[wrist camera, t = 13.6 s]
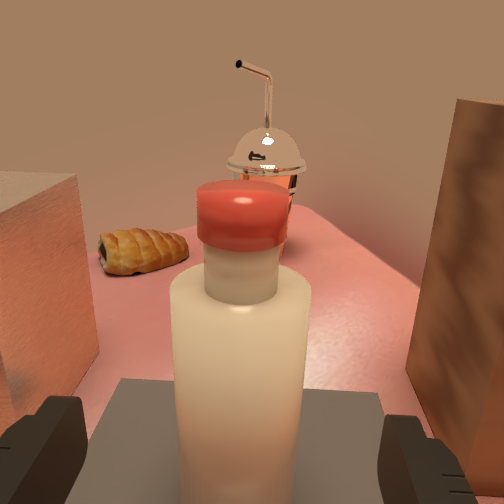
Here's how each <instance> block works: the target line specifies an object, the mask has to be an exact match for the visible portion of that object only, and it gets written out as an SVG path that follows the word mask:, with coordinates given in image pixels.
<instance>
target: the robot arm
mask: <svg viewBox="0 0 504 504" xmlns="http://www.w3.org/2000/svg"><path fill="white" fill-rule="evenodd" d="M87 448H88V439H87V432H86V426H85V419H84V413H83V406H82V401H81V399H80V398H79V397H74V396H55V395H50V396H48V397H47V398H46V399H45V400H44V402H43V403H42V405H41V406H40V407H39V409H38V410H37V412H36V413H35V414H34V415H24V416H23V417H22V418H20V419H19V420H18V421H17V422H15V423H14V424H13V425H11V426H10V427H9V428H7V429H6V430H5V432H4V433H3V434H2V436H1V437H0V504H64V503H65V501H66V499H67V497H68V495H69V493H70V491H71V489H72V487H73V485H74V483H75V481H76V479H77V477H78V475H79V473H80V471H81V469H82V467H83V465H84V462H85V459H86V455H87ZM377 474H378V482H379V487H380V491H381V495H382V499H383V503H384V504H478V502H477V500H476V497H475V496H473V491H472V489H471V487H470V485H469V483H468V480H467V479H465V474H464V472H463V470H462V468H461V466H460V463H459V461H458V459H457V457H456V456H455V454H454V453H453V452H452V451H451V450H450V449H449V448H448V447H447V446H446V445H445V444H444V443H443V442H442V441H441V440H440V439H432V438H427V437H426V435H425V432H424V430H423V427H422V425H421V423H420V420H419V419H418V417H417V416H407V415H389V414H387V415H386V416H385V419H384V424H383V430H382V436H381V441H380V447H379V453H378V459H377Z"/></svg>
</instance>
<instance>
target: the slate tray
mask: <svg viewBox="0 0 504 504" xmlns="http://www.w3.org/2000/svg"><path fill="white" fill-rule="evenodd" d="M384 419H385V416H384V413H383V410H382V406H381V403H380V400H379V397H378V393H371V392H353V391H336V390H318V389H303V393H302V404H301V415H300V425H299V436H298V447H297V458H296V469H295V479H294V490H293V501H292V504H384V503H383V499H382V495H381V491H380V487H379V482H378V474H377V459H378V453H379V447H380V441H381V436H382V430H383V424H384ZM64 504H180V488H179V468H178V448H177V428H176V408H175V388H174V381H161V380H143V379H126V378H121V380H120V381H119V383H118V385H117V387H116V389H115V391H114V393H113V395H112V397H111V399H110V401H109V403H108V405H107V407H106V409H105V411H104V413H103V415H102V417H101V419H100V421H99V422H98V424H97V426H96V428H95V430H94V432H93V434H92V436H91V438H90V440H89V442H88V448H87V455H86V459H85V462H84V465H83V467H82V469H81V471H80V473H79V475H78V477H77V479H76V481H75V483H74V485H73V487H72V489H71V491H70V493H69V495H68V497H67V499H66V501H65V503H64Z"/></svg>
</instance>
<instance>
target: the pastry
mask: <svg viewBox="0 0 504 504" xmlns="http://www.w3.org/2000/svg"><path fill="white" fill-rule="evenodd" d="M98 253H99V255H100V256H101V260H100V262H101V264H102V265H103V269H104V270H105V271H106V272H108V273H111V274H116V275H119V276H124V275H132V274H133V273H134V272H142V273H146V272H152V271H154V270H156V269H162V268H165V267H169V266H172V265H175V264H177V263H179V262H181V261H182V260H183V259H185V258H187V256H188V254H189V250H188V245H187V243H186V240H185V238H184V237H182V236H179V235H177V234H174V233H166V234H165V233H162V232H160V231H155V230H142V229H139V228H132V229H130V230H129V231H128V230H116V231H114V232H113V234H110V233H102V234H100V240H99V242H98Z"/></svg>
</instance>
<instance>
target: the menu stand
mask: <svg viewBox="0 0 504 504" xmlns="http://www.w3.org/2000/svg"><path fill="white" fill-rule="evenodd" d="M405 369H406V371H407V373H408V376H409V378H410V380H411V383H412V385H413V387H414V390H415V392H416V394H417V397H418V399H419V401H420V404H421V406H422V408H423V411H424V413H425V415H426V418H427V420H428V422H429V425H430V427H431V429H432V432H433V434H434V436H435V439H440V440H441V441H442V442H443V443H444V444H445V445H446V446H447V447H448V448H449V449H450V450H451V451H452V452H453V453H454V454H455V456H456V457H457V459H458V461H459V463H460V466H461V468H462V470H463V472H464V474H465V479H467V480H468V483H469V485H470V487H471V489H472V491H473V495H483V496H498V497H504V100H480V99H457V102H456V108H455V113H454V118H453V123H452V129H451V133H450V139H449V144H448V149H447V154H446V160H445V165H444V170H443V176H442V180H441V185H440V191H439V196H438V201H437V206H436V212H435V217H434V222H433V227H432V232H431V238H430V243H429V249H428V253H427V258H426V264H425V269H424V274H423V279H422V284H421V290H420V295H419V300H418V305H417V310H416V316H415V321H414V326H413V331H412V336H411V342H410V347H409V352H408V357H407V362H406V368H405Z"/></svg>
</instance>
